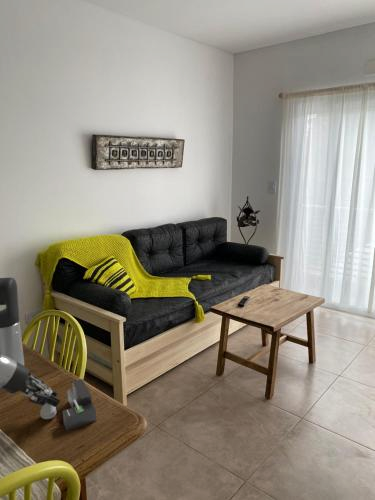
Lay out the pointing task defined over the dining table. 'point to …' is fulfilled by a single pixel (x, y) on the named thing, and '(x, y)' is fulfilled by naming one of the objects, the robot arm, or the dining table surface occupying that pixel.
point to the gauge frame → (84, 401)
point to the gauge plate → (72, 399)
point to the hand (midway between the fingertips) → (56, 399)
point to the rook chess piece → (48, 408)
